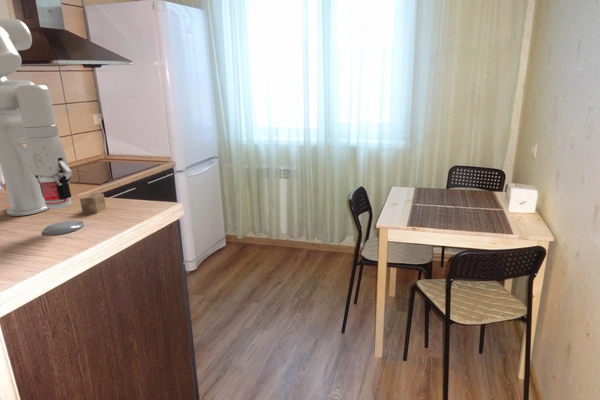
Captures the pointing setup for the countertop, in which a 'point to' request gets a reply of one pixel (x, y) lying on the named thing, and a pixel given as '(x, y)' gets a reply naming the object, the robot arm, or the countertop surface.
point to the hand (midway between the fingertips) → (57, 196)
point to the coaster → (63, 227)
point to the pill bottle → (52, 193)
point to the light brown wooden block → (92, 203)
